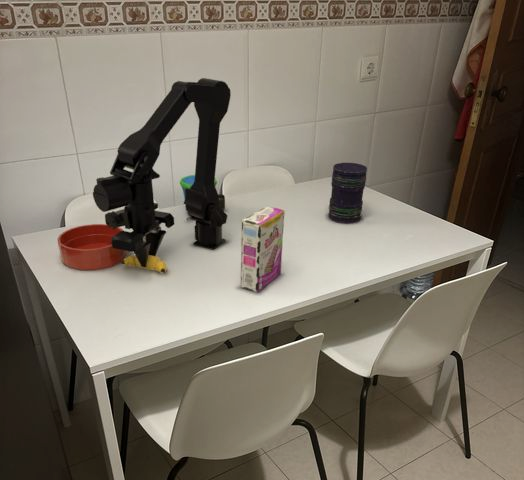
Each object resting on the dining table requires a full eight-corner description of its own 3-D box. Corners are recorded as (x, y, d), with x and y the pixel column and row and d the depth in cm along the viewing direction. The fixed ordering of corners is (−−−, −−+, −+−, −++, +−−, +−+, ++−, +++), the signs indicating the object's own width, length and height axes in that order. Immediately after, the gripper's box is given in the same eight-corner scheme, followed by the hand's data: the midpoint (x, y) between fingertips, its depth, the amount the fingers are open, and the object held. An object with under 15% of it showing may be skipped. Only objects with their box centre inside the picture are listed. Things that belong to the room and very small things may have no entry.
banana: (173, 266, 128) (170, 256, 125) (165, 278, 125) (162, 268, 123) (131, 258, 131) (128, 247, 129) (122, 269, 129) (118, 259, 126)
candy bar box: (258, 293, 119) (260, 224, 110) (240, 288, 121) (239, 219, 112) (282, 274, 127) (285, 209, 117) (264, 269, 129) (266, 204, 119)
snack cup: (175, 207, 163) (172, 174, 157) (206, 202, 167) (205, 170, 161) (192, 224, 152) (190, 189, 146) (225, 219, 156) (225, 185, 150)
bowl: (141, 251, 136) (138, 231, 133) (99, 276, 124) (95, 255, 121) (92, 239, 142) (88, 219, 139) (47, 262, 130) (42, 241, 127)
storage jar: (366, 216, 160) (373, 166, 152) (352, 226, 153) (359, 174, 145) (336, 209, 164) (341, 160, 156) (322, 218, 158) (326, 168, 149)
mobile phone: (220, 192, 161) (181, 202, 151) (227, 194, 159) (188, 204, 150) (220, 208, 163) (182, 218, 154) (227, 210, 162) (189, 221, 153)
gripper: (132, 184, 128) (139, 244, 137) (85, 208, 114) (96, 273, 123) (173, 190, 125) (177, 251, 134) (130, 216, 111) (138, 282, 120)
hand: (147, 263), depth 128 cm, fingers closed on banana, 3 cm apart
